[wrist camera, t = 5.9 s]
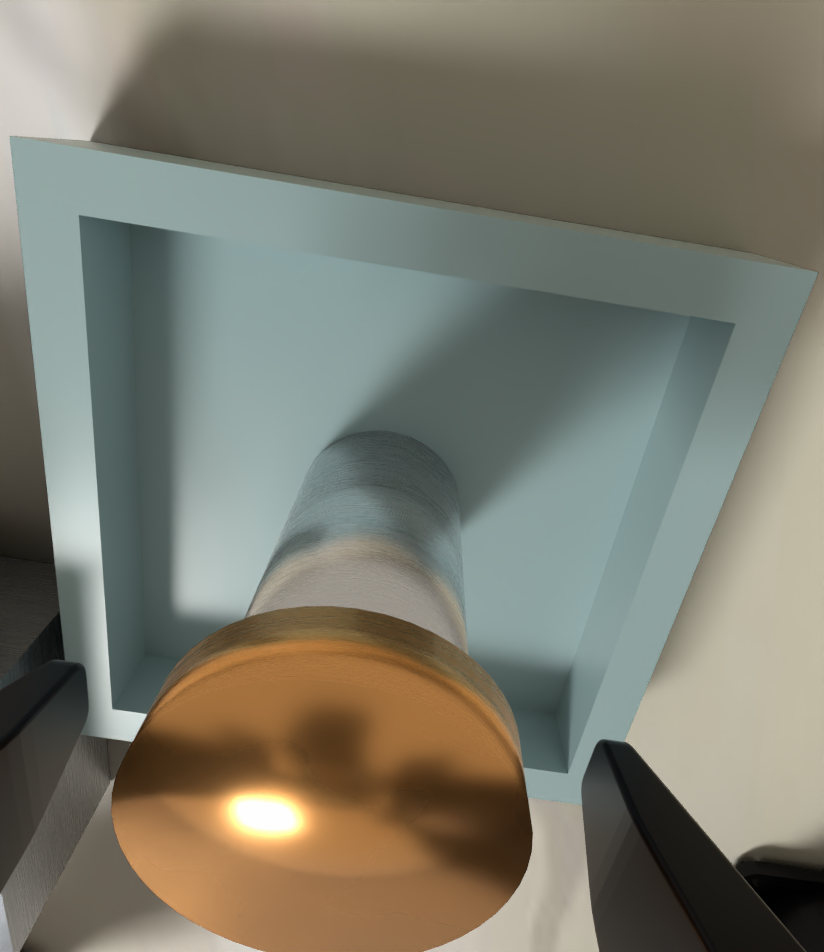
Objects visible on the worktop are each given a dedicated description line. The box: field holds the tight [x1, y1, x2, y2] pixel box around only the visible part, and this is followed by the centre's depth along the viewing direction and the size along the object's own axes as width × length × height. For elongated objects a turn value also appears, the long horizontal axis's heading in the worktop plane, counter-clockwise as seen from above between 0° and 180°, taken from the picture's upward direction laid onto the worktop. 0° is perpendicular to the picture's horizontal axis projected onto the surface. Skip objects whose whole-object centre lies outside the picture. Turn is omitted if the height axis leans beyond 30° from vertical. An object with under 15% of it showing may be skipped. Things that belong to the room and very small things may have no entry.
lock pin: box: [111, 431, 533, 952], centre depth 11 cm, size 5×5×8 cm
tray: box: [10, 136, 819, 805], centre depth 14 cm, size 13×13×2 cm
